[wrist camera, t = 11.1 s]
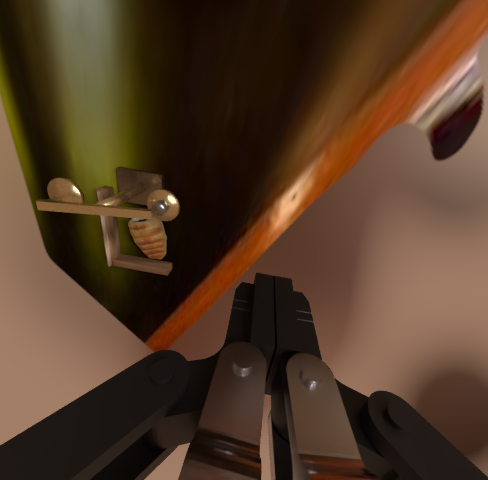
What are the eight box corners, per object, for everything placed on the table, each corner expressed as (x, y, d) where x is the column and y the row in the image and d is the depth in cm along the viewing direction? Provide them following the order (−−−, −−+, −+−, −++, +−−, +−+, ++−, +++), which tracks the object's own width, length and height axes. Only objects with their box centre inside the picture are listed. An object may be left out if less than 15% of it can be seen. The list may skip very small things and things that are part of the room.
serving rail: (105, 185, 43) (93, 190, 40) (172, 197, 43) (165, 202, 40) (114, 258, 50) (105, 266, 47) (172, 268, 50) (166, 277, 47)
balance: (95, 194, 44) (24, 223, 31) (90, 161, 41) (10, 178, 28) (192, 211, 43) (159, 247, 31) (193, 179, 41) (158, 204, 28)
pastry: (176, 253, 48) (168, 263, 45) (147, 257, 50) (137, 267, 46) (160, 211, 44) (151, 218, 41) (129, 216, 46) (118, 224, 42)
